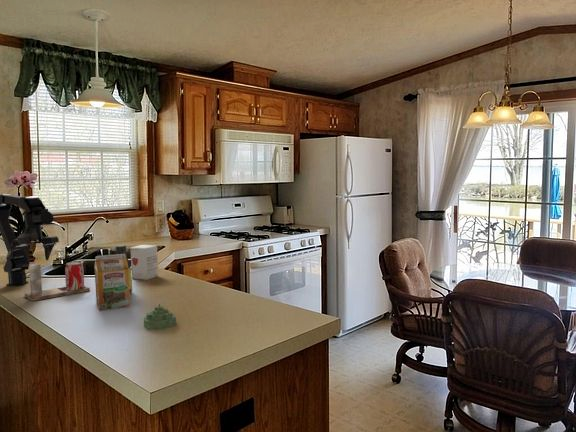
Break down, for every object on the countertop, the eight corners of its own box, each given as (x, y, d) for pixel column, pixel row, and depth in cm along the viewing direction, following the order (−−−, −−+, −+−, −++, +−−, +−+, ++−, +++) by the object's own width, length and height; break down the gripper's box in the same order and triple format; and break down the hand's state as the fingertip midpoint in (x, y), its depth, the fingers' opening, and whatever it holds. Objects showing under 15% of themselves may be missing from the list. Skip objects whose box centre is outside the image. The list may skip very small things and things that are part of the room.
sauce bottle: (135, 292, 197) (133, 244, 196) (125, 295, 191) (123, 247, 190) (122, 291, 200) (120, 244, 198) (112, 294, 194) (110, 246, 192)
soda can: (80, 293, 197) (78, 264, 196) (63, 293, 197) (61, 264, 196) (87, 289, 204) (85, 261, 203) (71, 289, 204) (69, 261, 203)
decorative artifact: (142, 323, 156) (146, 332, 147) (141, 302, 156) (145, 309, 147) (173, 319, 160) (178, 327, 151) (172, 298, 160) (177, 305, 150)
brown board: (32, 301, 185) (30, 267, 184) (24, 296, 192) (22, 264, 191) (89, 290, 200) (88, 259, 199) (80, 286, 208) (78, 256, 207)
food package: (99, 310, 171) (96, 258, 169) (96, 303, 180) (93, 254, 179) (130, 306, 176) (127, 255, 174) (125, 300, 185) (123, 251, 183)
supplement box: (130, 278, 224) (129, 247, 222) (143, 274, 232) (142, 244, 230) (146, 280, 220) (145, 248, 219) (158, 276, 228) (157, 245, 227)
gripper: (0, 228, 200) (4, 265, 201) (41, 225, 197) (45, 262, 198) (18, 226, 211) (22, 261, 212) (57, 223, 208) (61, 258, 209)
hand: (37, 260), depth 207 cm, fingers open, 9 cm apart
